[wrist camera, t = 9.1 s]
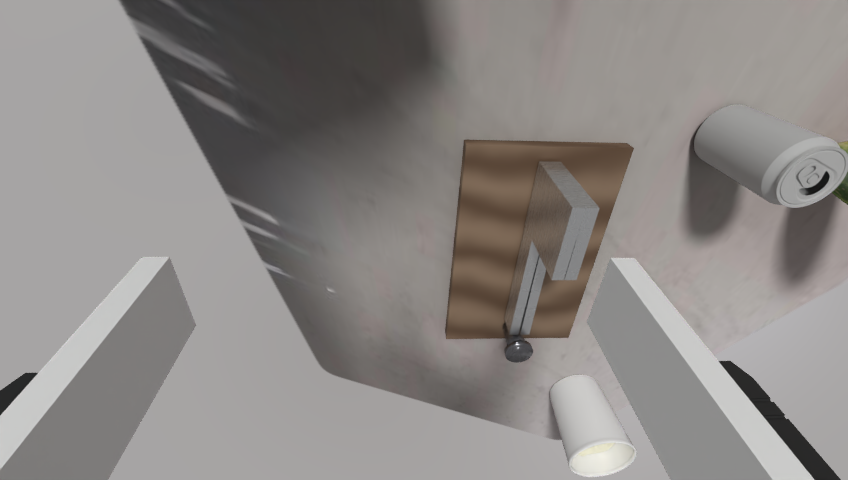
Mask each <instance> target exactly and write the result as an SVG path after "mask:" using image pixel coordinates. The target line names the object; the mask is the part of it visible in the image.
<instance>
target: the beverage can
mask: <svg viewBox="0 0 848 480" xmlns="http://www.w3.org/2000/svg"><path fill="white" fill-rule="evenodd" d="M694 149H695V152H696V154H697V156H698V157H699V158H700V159H702V160H703V161H705V162H706V163H708V164H710V165H711V166H713V167H714V168H716V169H718V170H719V171H721V172H722V173H724V174H725V175H727V176H729V177H730V178H732V179H733V180H735V181H737V182H738V183H740V184H741V185H743V186H745V187H746V188H748V189H749V190H751V191H752V192H754V193H756V194H757V195H759V196H760V197H762V198H764V199H765V200H767V201H768V202H770V203H773V204H777V205H784V206H786V207H790V208H799V207H804V206H808V205H811V204H813V203H815V202H818V201H819V200H821V199H823V198H824V197H826V196H827V195H829V194H830V193H831V192H832V191H834V190H835V189H836V188H837V187H838V186H839V184H840V183H841V182H842V181H843V179H844V178H845V176H846V174H847V172H848V154H847V153H846V152H845V151H844V150H843V149H841V148H840V146H839V145H838V144H837V142H835V141H834V140H832V139H830V138H828V137H825V136H822V135H820V134H817V133H815V132H812V131H810V130H807V129H805V128H802V127H800V126H797V125H794V124H792V123H789V122H787V121H784V120H782V119H779V118H777V117H774V116H771V115H769V114H766V113H764V112H761V111H759V110H756V109H754V108H751V107H749V106H746V105H741V104H735V105H729V106H726V107H723V108H721V109H719V110H717V111H716V112H714V113H713V114H712V115H710V116H709V117H708V118H707V119H706V120H705V121H704V122H703V124H702V125H701V126H700V128H699V130H698V131H697V134H696V136H695V140H694Z"/></svg>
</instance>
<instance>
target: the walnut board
mask: <svg viewBox="0 0 848 480" xmlns="http://www.w3.org/2000/svg"><path fill="white" fill-rule="evenodd" d="M633 149H634V148H633V147H631V146H630V145H629V144H627V143H591V142H544V141H496V140H464V147H463V157H462V167H461V177H460V187H459V198H458V208H457V218H456V228H455V238H454V248H453V258H452V268H451V278H450V288H449V299H448V309H447V319H446V329H445V333H446V339H481V338H505V335H504V332H503V328H502V326H503V324H504V323H505V319H504V318H505V313H506V309H507V304H508V300H509V295H510V291H511V286H512V282H513V277H514V273H515V268H516V264H517V259H518V255H519V250H520V246H521V241H522V237H523V232H524V228H525V222H526V217H527V213H528V208H529V204H530V199H531V195H532V190H533V186H534V181H535V177H536V172H537V168H538V163H539V161H547V162H562V164H563V165H564V166H565V167H566V168H567V170H568V171H569V172H570V173H571V174H572V176H573V177H574V178H575V179H576V180H577V182H578V183H579V184H580V185H581V186H582V188H583V189H584V190H585V191H586V192H587V194H588V195H589V196H590V197H591V198H592V200H593V201H594V202H595V203H596V204H597V206H598V207H599V212H598V215H597V218H596V221H595V224H594V227H593V230H592V233H591V237H590V240H589V243H588V246H587V249H586V252H585V255H584V258H583V262H582V265H581V268H580V271H579V274H578V277H577V280H551V278H550V276H549V274H548V272H547V270H546V272H545V276H544V280H543V284H542V288H541V291H540V295H539V299H538V303H537V307H536V311H535V314H534V318H533V322H532V326H531V330H530V334H529V335H523V337H524V338H568V337H569V334H570V331H571V328H572V326H573V323H574V320H575V317H576V314H577V311H578V308H579V305H580V302H581V300H582V297H583V294H584V291H585V288H586V285H587V282H588V279H589V276H590V274H591V271H592V268H593V265H594V262H595V259H596V256H597V253H598V250H599V248H600V245H601V242H602V239H603V236H604V233H605V230H606V227H607V224H608V221H609V219H610V216H611V213H612V210H613V207H614V204H615V201H616V198H617V195H618V193H619V190H620V187H621V184H622V181H623V178H624V175H625V172H626V169H627V167H628V164H629V161H630V158H631V155H632V152H633Z"/></svg>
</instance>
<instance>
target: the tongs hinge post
mask: <svg viewBox="0 0 848 480" xmlns="http://www.w3.org/2000/svg"><path fill="white" fill-rule="evenodd" d="M502 328H503V332H504V335H505V339H506V342H507V347H506V348H505V355H506V358H507V359H508V360H509V361H511V362H523V361H525V360H527V359H529V358H530V357H531V356H532V354H533V349H532V346H531V344H530V343H528V342H527V341H525V340H524V337H523V335H520V332H519V334H518V335H509V332H508V329H507V326H506V322H505V323H504V324H503V326H502Z"/></svg>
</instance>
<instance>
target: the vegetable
mask: <svg viewBox="0 0 848 480" xmlns="http://www.w3.org/2000/svg"><path fill="white" fill-rule="evenodd" d="M837 144H838V145H839V146H840V148H841V149H843V150H844V151H845V152H846V153H847V154H848V141H846V142H840V143H837ZM832 193H833V194H834V195H835V196H837V197H838V198H839V199H841V200H842V201H843V202H845V203H846V204H848V172H847V174H846V176H845V178H844V179H843V181H842V182H841V183H840V184H839V186H838V187H837V188H836V189H835V190H834V191H832Z"/></svg>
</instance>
